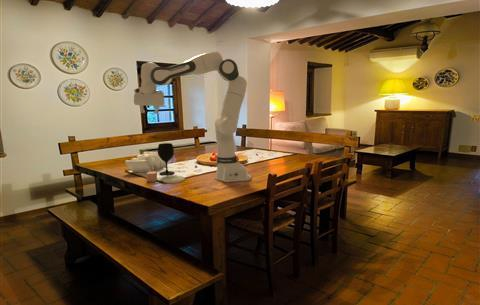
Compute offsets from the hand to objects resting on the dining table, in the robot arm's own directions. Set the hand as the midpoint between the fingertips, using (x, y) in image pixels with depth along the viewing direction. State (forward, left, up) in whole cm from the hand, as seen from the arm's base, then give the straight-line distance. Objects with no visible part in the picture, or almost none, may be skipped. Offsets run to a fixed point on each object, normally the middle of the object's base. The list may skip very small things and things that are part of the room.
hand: (149, 113), depth 189 cm
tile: (-14, +5, -41) cm, 43 cm away
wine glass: (-7, -11, -41) cm, 43 cm away
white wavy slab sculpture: (+9, -27, -41) cm, 50 cm away
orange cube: (-1, +5, -41) cm, 41 cm away
